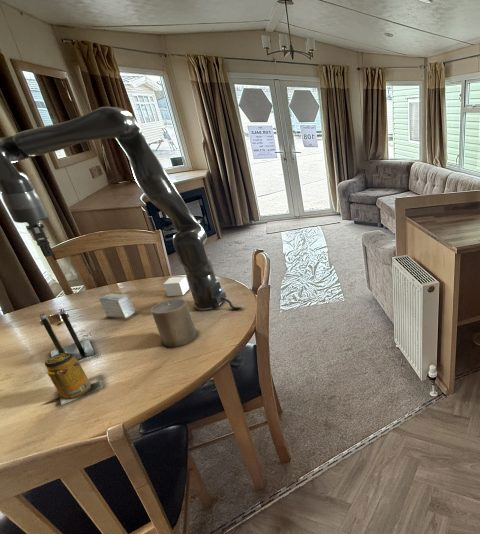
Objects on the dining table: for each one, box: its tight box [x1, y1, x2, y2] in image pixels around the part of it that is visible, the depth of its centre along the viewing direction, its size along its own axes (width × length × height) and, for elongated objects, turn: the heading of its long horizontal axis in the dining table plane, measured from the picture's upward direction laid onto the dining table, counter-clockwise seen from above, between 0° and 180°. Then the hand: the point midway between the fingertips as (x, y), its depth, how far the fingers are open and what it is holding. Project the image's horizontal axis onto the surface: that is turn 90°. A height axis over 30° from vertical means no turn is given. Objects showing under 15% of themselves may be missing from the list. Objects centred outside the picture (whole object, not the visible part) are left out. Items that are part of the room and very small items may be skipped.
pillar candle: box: [150, 298, 198, 348], centre depth 115 cm, size 10×10×15 cm
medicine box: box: [99, 293, 137, 319], centre depth 128 cm, size 8×4×9 cm, turn 84°
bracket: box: [39, 308, 96, 361], centre depth 106 cm, size 12×9×16 cm
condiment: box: [44, 353, 104, 406], centre depth 93 cm, size 7×8×12 cm
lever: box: [47, 313, 65, 328], centre depth 107 cm, size 14×4×4 cm, turn 50°
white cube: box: [162, 276, 190, 297], centre depth 147 cm, size 6×6×6 cm
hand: (48, 252), depth 114 cm, fingers open, 8 cm apart
